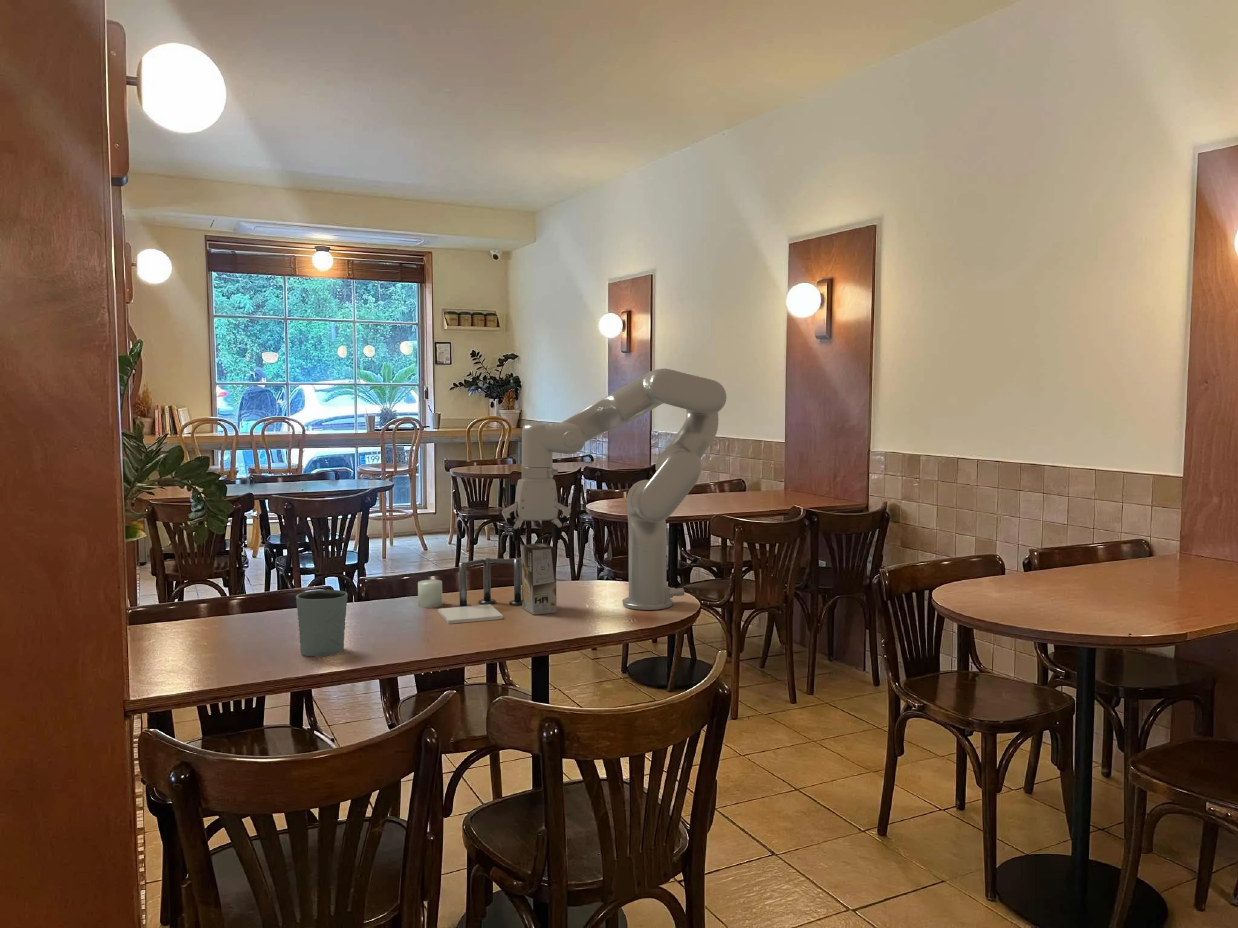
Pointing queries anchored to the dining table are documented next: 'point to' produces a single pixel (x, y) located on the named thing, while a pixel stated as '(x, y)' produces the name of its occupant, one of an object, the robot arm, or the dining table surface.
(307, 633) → the green tapered pot
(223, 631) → the dining table surface
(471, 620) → the plate
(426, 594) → the pale green pillar candle
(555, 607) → the coffee box
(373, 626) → the dining table surface
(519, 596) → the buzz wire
